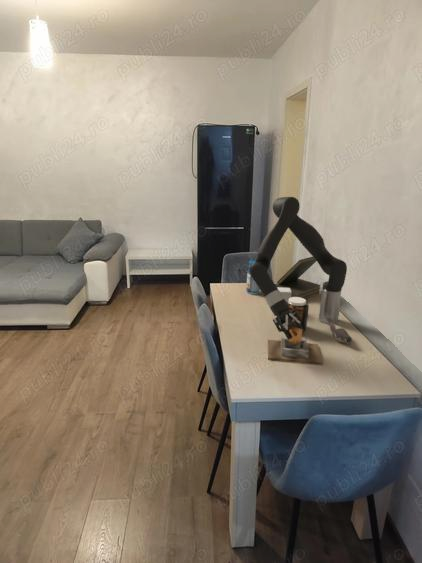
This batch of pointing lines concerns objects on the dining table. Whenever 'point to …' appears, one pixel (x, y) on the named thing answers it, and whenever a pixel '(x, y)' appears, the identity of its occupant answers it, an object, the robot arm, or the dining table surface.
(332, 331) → the decorative bird
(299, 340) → the orange rectangular block
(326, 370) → the dining table surface
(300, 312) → the jar
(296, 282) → the open hinged box
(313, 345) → the socket board
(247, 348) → the dining table surface
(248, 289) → the beverage bottle
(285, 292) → the supplement box
